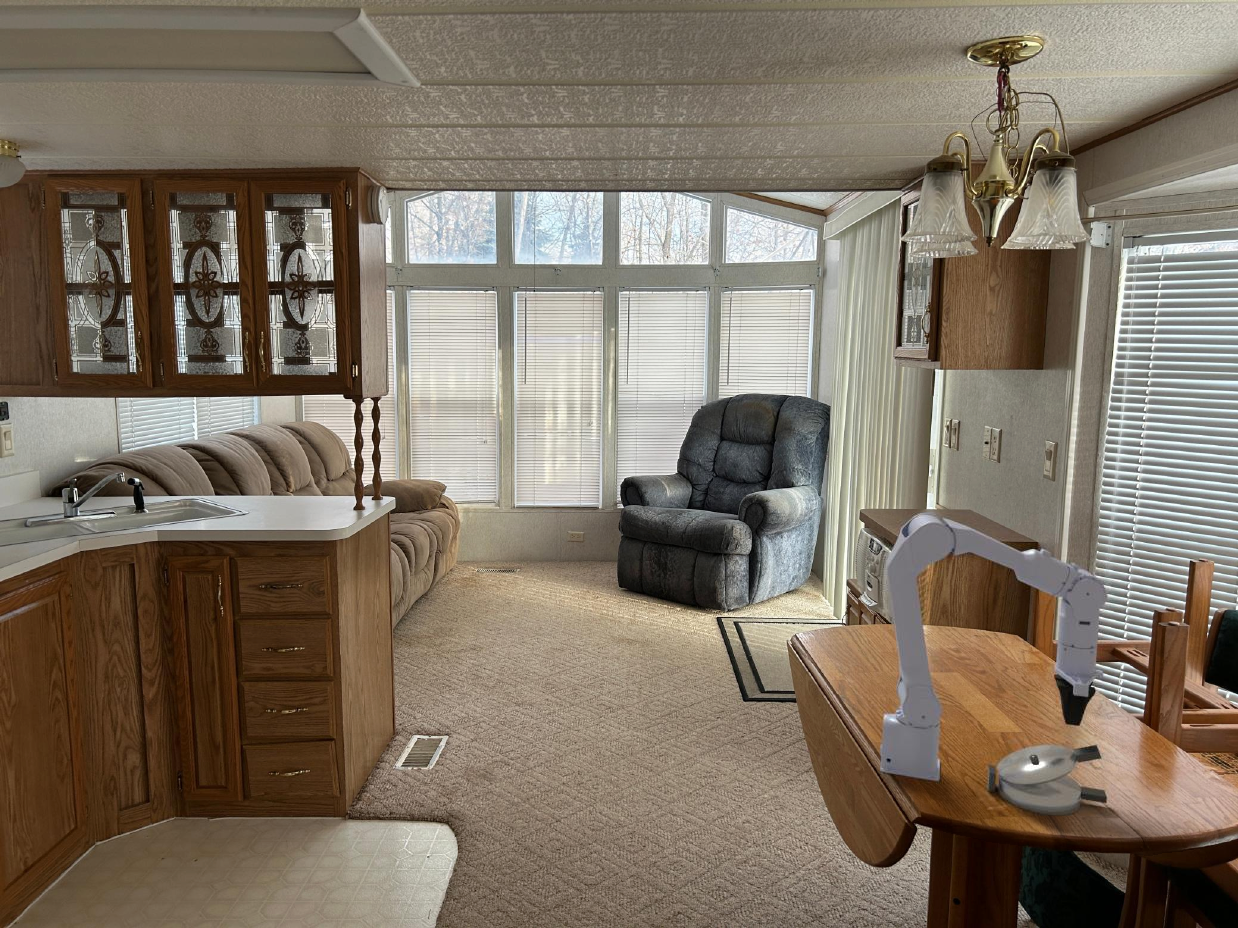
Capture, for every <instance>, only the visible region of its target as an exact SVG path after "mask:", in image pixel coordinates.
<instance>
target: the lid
mask: <svg viewBox="0 0 1238 928" xmlns="http://www.w3.org/2000/svg"><path fill="white" fill-rule="evenodd" d="M1101 759H1103V758H1102V755H1101V753H1100V750H1099V747H1098V745H1097V744H1093V745H1089V746H1087V745H1086V746H1084V747H1078V748H1073V749H1070V748H1068V747H1066V746H1063V745H1057V744H1056V745H1055V744H1040V745H1034V746H1029V747H1025V748H1021V749H1018V750H1015V751H1013V752H1011V753H1009V754H1007V755H1006V756H1004V757H1003V758H1002V759H1001V760H1000V761H999V762H998V764H997V766H996V771H997V773H998V777H999V776H1000V778H1001V779H1002V780H1004V781H1005V782H1007V783H1011V784H1015V785H1037V784H1043V783H1047V782H1051V781H1054V780H1057V779H1059V778H1062V777H1064V776H1065V775H1069V774H1070V773H1071V772H1072V771H1073V770H1074V769H1075V768H1076V767H1077V764H1079V763H1084V762H1089V761H1090V762H1091V761H1096V760H1101Z"/></svg>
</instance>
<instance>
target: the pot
mask: <svg viewBox="0 0 1238 928" xmlns="http://www.w3.org/2000/svg"><path fill="white" fill-rule="evenodd" d="M996 771H997V768H996V766H995V765H991V764H988V769H987V791H988V792H990V793H996V782H997V791H998V794H999V795H1000V796H1001V797H1002V798H1003V799H1004V800H1005V801H1007V802H1008V803H1010V804H1012V805H1014V806H1015V807H1018V808H1020V809H1022V810H1025V811H1028V812H1032V813H1036V814H1041V815H1049V816H1066V815H1071V814H1074V813H1076V812H1077V811H1078V810H1079V809H1080V807H1081V800H1084V801H1091V802H1095V803H1103V804H1108V796H1107V794H1106V791H1105V789H1100V788H1095V787H1094V788H1093V787H1088V786H1082V785H1080V784H1079V782H1078V781H1077V780H1075V779H1074V778H1073V777H1071V776H1070V775H1069V774H1067V775H1065V776H1064V777H1062V778H1059V779H1057V780H1054V781H1051V782H1047V783H1043V784H1037V785H1015V784H1011V783H1007V782H1005V781H1004V780H1002V779H1001V778H1000V776H999V775H998V779H997V772H996ZM996 779H997V780H996Z"/></svg>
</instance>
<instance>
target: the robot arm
mask: <svg viewBox="0 0 1238 928" xmlns="http://www.w3.org/2000/svg"><path fill="white" fill-rule="evenodd" d="M942 520H943V521H944V522H945V523H944V522H943V521H942ZM942 520H941V518H940V517H939V516H938V515H935V514H934V513H929V512H921V513H919V514H916V515H914V516H912V517H911V518H910V519H909V520H908V521H907V522H906V523H904V525H903V526H902V527H901V528H900V531H899V535H898V537H897V539H896V542H895V544H894V546H893V547H892V549H891V552H890V554H889V555H888V558H887V560H886V562H885V570H886V577H887V584H888V585H887V586H888V590H889V591H888V592H889V598H890V605H891V612H892V613H891V614H892V621H893V627H894V633H895V641H896V647H897V654H898V661H899V665H898V670H899V671H898V672H899V679H898V681H897V683H896V688H895V689H896V694H897V697H898V699H899V701H900V705H899V706H898V708H897V709H896V711H895V713H884V714H883V718H882V719H883V721H882V732H881V744H880V747H879V755H880V756H881V757H880V772H881V773H886V774H893V775H899V776H903V777H904V776H905V777H909V778H910V777H911V778H916V779H923V780H927V781H932V782H933V781H934V782H939V781H940V776H941V773H940V772H941V771H940V770H941V769H940V766H941V760H940V759H939V744H940V741H939V740H940V727H941V725H940V722H941V716H942V713H943V706H942V702H941V700H940V699H939V698H938V696H937V694H936V691H935V687H934V683H933V681H932V676H931V672H930V666H929V660H928V653H927V646H926V638H925V632H924V624H923V617H922V610H921V609H922V608H921V603H920V595H919V588H918V582H917V581H918V580H917V578H918V577H919V575H920V574H921V573H922V572H923V571H924V570H925V569H926V568H927V567H928V566H930V565H932V564H933V563H936V562H939V561H940V560H942V559H944V558H945V557H947V556H948V555H949V554H950V553H952V554H953V556H958V555H963V554H966V553H972V554H974V555H977V556H979V557H981V558H984V559H987V560H989V561H992V562H994V563H997V564H999V565H1001V566H1004V567H1006V568H1009V569H1012V570H1013V571H1014V573H1015V576H1016V579H1017V580H1018V581H1020V582H1022V583H1024V584H1026V585H1028V586H1031V587H1032V588H1035V589H1037V590H1039V591H1041V592H1045V593H1046V594H1049V595H1050V596H1054V597H1055V598H1061V599H1060V602H1061V603H1060V613H1059V619H1058V621H1059V622H1058V633H1057V636H1058V637H1057V645H1056V646H1057V649H1056V659H1055V660H1056V663H1055V665H1054V672H1055V674H1054V675H1053V679H1054V680H1055V683H1056V687H1057V689H1058V692H1059V696H1060V704H1061V712H1062V716H1063V720H1064V723H1065V725H1068V726H1074V727H1075V726H1077V727H1080V725H1081V724H1082V720H1083V717H1084V715H1085V711H1086V709H1087V707H1088V704H1089V702H1090V700H1091V699H1092V698H1093V697H1094V696H1095V695H1096V693H1097V692H1096V690H1097V689H1096V687H1095V686H1092V685H1094V683H1093V682H1094V680H1095V679H1097V678H1100V679H1102V678H1104V671H1103V670H1101V669H1096V665H1097V653H1098V641H1099V640H1098V639H1099V628H1100V627H1099V626H1100V609H1102V607H1104V605H1105V604H1106V603H1107V600H1108V596H1109V594H1107V593H1106V588H1105V585H1104V584H1103V582H1102V581H1101V580H1100V579H1098V578H1097V577H1096V576H1094V575H1093V574H1092V573H1090V572H1089V571H1088V570H1086V569H1084V568H1083V567H1082V566H1079V565H1077V564H1076V563H1074V562H1070V564H1069V563H1067V562H1064V561H1062V560H1059V559H1058V558H1055V557H1052V556H1051V555H1052V552H1050V551H1049V550H1047V549H1045V548H1041V549H1040V551H1039V550H1037V549H1034V548H1032V549H1028V550H1024V551H1020V550H1018V549H1016V548H1014V547H1012V546H1009V545H1007V544H1005V543H1003V542H1001V541H999V540H997V539H994V538H993V537H990V536H988V535H986V534H985V533H982V532H980V531H978V530H977V529H974V528H972V527H970V526H968V525H965V524H962V523H959V522H957V521H954V520H951V519H948V518H945V517H942Z"/></svg>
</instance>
